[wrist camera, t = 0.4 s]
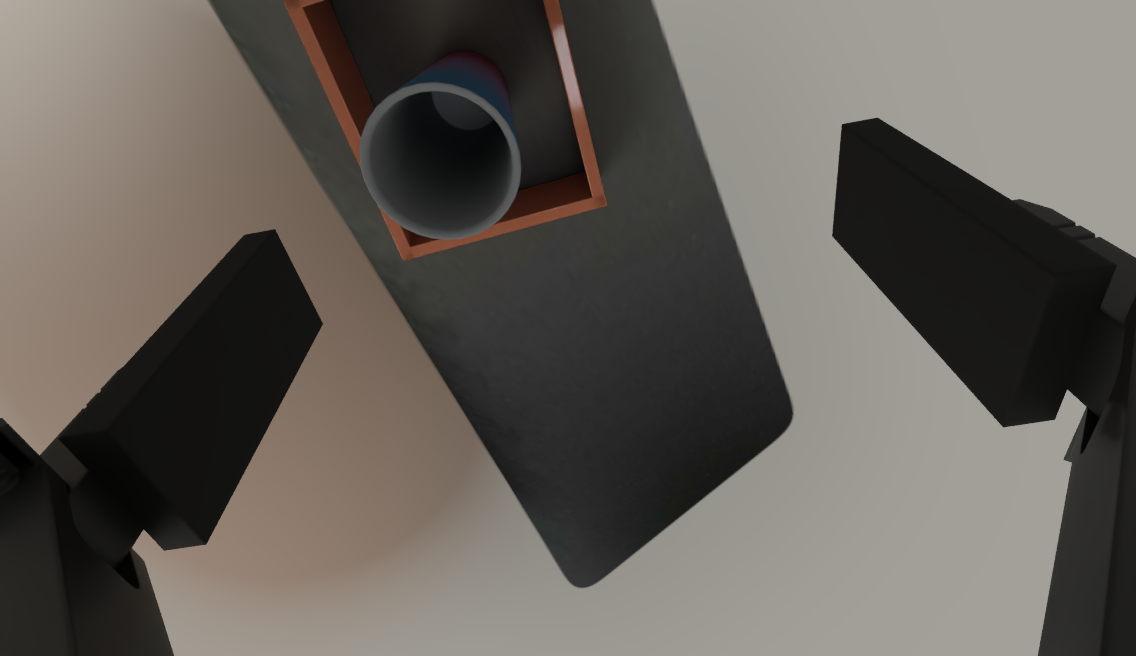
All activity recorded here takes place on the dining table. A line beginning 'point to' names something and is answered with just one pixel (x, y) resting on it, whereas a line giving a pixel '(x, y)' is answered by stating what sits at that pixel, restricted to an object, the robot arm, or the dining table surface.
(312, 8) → the rectangular frame
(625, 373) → the dining table surface
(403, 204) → the cup
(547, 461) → the dining table surface
